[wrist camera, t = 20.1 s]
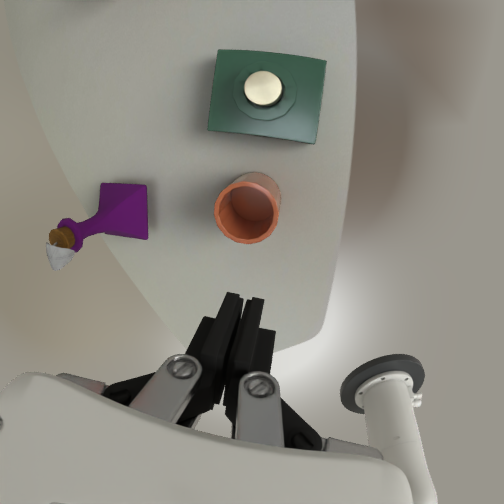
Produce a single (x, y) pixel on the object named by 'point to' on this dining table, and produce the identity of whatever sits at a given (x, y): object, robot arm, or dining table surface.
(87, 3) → the dining table surface
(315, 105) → the push button base
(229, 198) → the cup
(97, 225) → the perfume bottle
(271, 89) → the metal button cap
